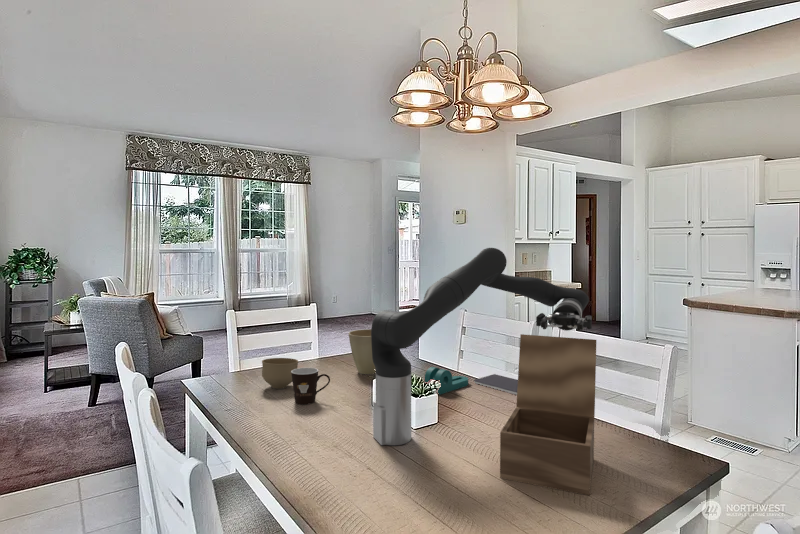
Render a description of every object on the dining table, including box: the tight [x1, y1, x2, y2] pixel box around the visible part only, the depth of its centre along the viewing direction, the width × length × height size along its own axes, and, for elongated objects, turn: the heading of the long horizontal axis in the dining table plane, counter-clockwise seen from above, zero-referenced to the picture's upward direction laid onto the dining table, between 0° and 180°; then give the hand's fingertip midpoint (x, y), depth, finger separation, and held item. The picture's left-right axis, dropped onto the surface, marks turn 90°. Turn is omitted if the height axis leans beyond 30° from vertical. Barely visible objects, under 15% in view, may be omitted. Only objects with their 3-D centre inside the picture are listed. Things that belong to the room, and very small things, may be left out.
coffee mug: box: [291, 367, 331, 406], centre depth 154 cm, size 12×9×10 cm
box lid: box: [515, 333, 597, 418], centre depth 118 cm, size 18×18×1 cm
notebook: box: [473, 373, 518, 396], centre depth 172 cm, size 13×2×21 cm
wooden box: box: [499, 407, 595, 496], centre depth 108 cm, size 18×18×10 cm
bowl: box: [261, 357, 299, 390], centre depth 171 cm, size 13×13×10 cm
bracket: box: [424, 366, 469, 396], centre depth 170 cm, size 18×7×8 cm, turn 134°
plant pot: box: [348, 328, 376, 375], centre depth 190 cm, size 15×15×16 cm
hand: (561, 326), depth 125 cm, fingers open, 8 cm apart
